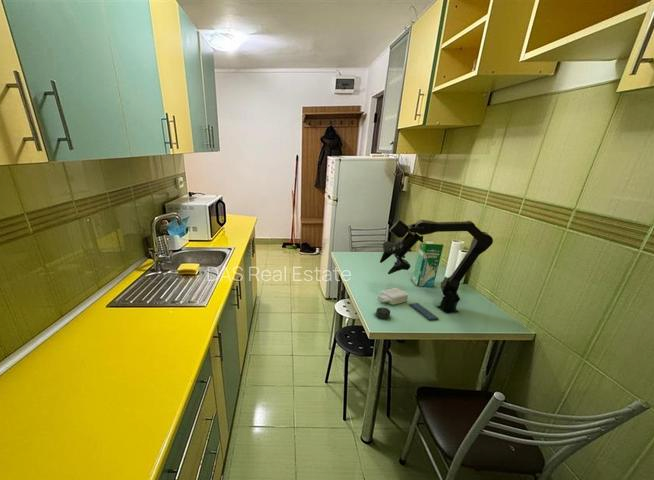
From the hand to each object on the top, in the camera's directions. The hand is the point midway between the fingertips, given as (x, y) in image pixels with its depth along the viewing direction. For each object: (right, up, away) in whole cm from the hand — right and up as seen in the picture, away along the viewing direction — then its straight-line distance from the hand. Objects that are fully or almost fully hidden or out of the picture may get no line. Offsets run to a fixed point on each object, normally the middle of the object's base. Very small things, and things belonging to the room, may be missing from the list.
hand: (384, 268), depth 149 cm
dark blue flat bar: (+17, -21, -5) cm, 27 cm away
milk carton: (+31, -8, +26) cm, 41 cm away
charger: (+4, -17, +4) cm, 18 cm away
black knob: (-4, -23, -10) cm, 25 cm away
